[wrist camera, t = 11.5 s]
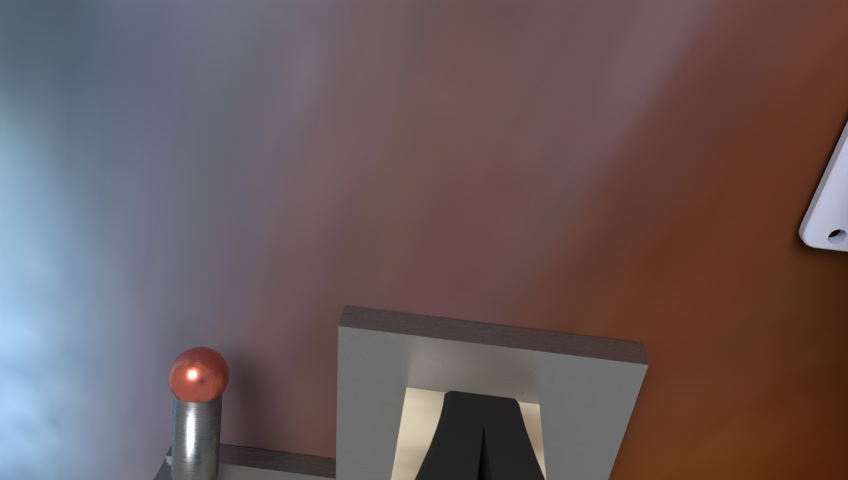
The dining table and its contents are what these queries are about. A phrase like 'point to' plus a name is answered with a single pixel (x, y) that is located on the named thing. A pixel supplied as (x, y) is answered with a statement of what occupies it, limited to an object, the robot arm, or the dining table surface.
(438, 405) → the block
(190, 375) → the lever
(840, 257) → the dining table surface
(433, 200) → the dining table surface
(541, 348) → the grey panel board
